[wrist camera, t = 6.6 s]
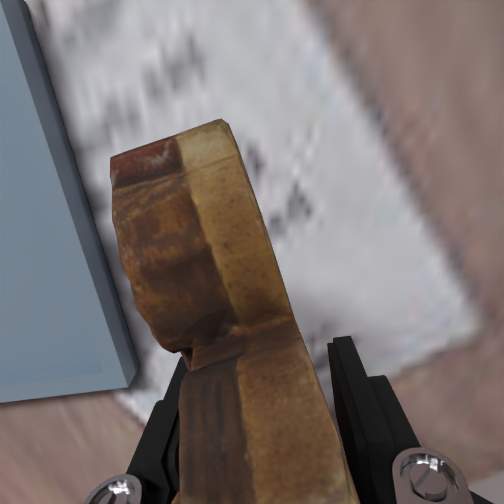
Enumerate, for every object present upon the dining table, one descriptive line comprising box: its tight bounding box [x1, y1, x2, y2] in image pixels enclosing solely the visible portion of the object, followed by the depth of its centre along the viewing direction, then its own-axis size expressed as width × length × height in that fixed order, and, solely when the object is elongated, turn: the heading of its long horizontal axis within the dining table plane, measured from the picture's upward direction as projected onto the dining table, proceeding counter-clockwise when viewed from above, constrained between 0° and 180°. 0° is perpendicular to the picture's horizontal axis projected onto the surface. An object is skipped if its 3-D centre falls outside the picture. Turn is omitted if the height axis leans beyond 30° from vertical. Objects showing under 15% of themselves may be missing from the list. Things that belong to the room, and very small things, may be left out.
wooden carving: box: [110, 119, 360, 504], centre depth 9 cm, size 16×5×10 cm, turn 22°
